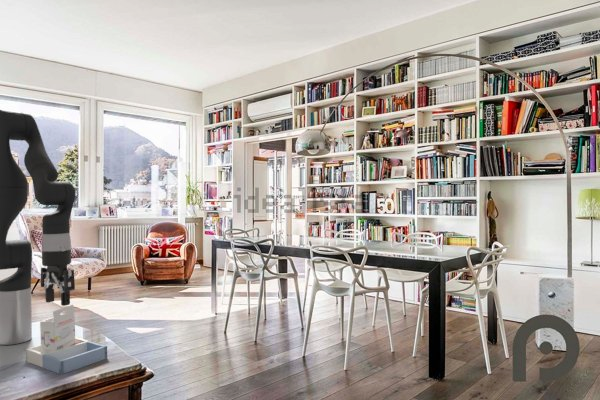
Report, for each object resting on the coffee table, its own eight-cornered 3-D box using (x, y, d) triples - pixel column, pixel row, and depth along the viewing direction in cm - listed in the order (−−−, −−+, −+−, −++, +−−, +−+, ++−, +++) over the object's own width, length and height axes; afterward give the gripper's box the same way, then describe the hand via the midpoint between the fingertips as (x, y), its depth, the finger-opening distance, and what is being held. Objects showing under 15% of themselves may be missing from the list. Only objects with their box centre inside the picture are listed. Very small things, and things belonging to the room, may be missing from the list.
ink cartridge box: (61, 351, 133) (61, 303, 133) (76, 352, 132) (75, 304, 132) (40, 361, 125) (39, 310, 125) (54, 362, 124) (54, 311, 124)
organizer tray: (25, 361, 125) (25, 349, 125) (71, 347, 137) (71, 335, 137) (60, 374, 115) (60, 361, 115) (107, 358, 127) (107, 346, 127)
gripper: (30, 249, 129) (32, 303, 129) (56, 251, 121) (57, 309, 121) (56, 246, 135) (57, 298, 135) (82, 248, 128) (83, 303, 128)
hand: (57, 303), depth 128 cm, fingers open, 8 cm apart
